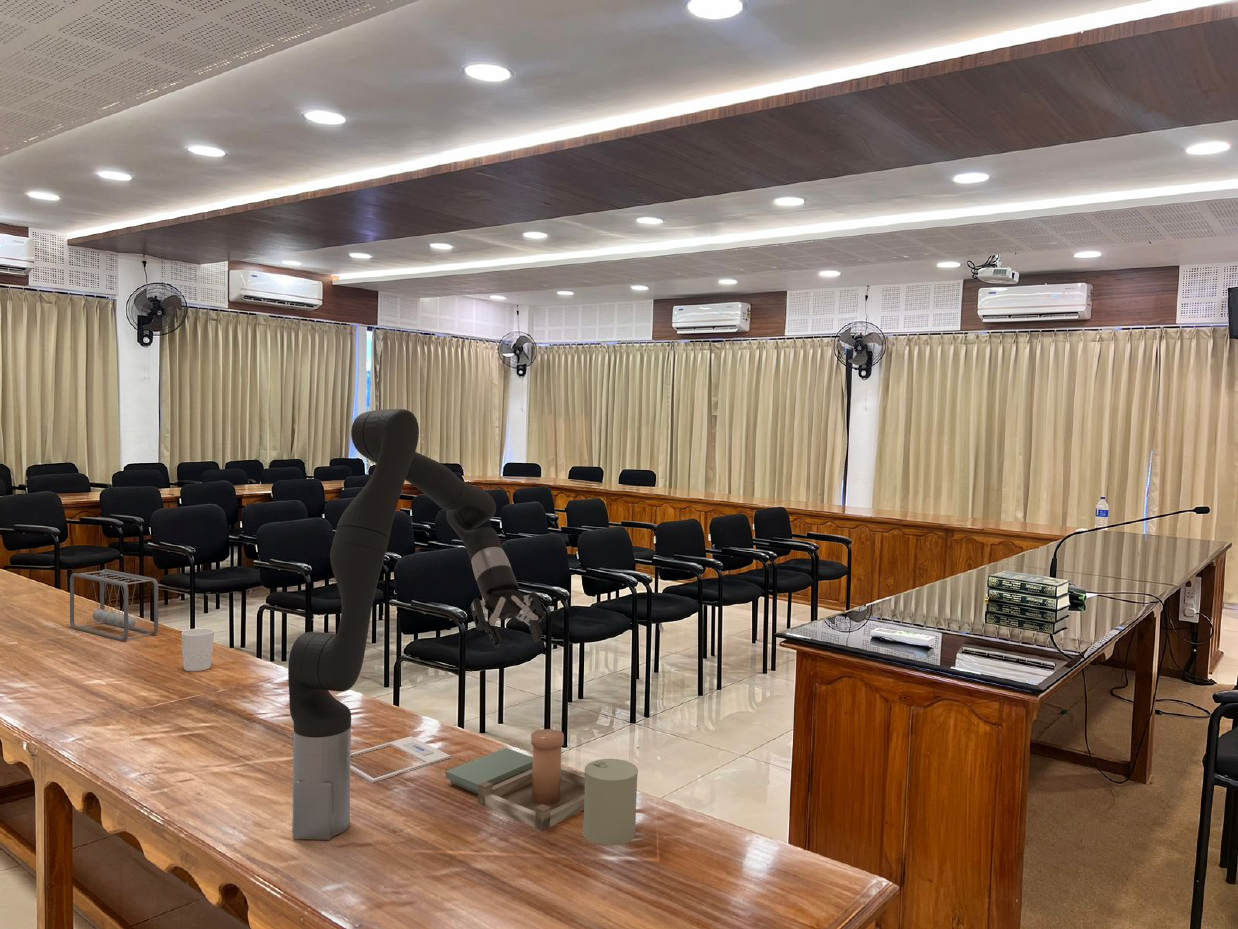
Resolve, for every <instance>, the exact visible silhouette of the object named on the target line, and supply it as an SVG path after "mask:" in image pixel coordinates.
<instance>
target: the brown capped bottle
mask: <svg viewBox="0 0 1238 929" xmlns="http://www.w3.org/2000/svg"><path fill="white" fill-rule="evenodd" d="M564 742H565V735H564V733H563V731H560V730H558V729H552V728H551V729H550V728H545V729H544V728H543V729H537V730H534V731H533V732H532V733H531V735H530V744H531V746H532V757H533V772H532V801H533V802H534V803H536V804H540V805H542V804H544V805H552V804H555V803H557V802H559V800H560V781H561V766H562V747H563V746H564V744H565V743H564Z"/></svg>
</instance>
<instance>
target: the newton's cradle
mask: <svg viewBox="0 0 1238 929" xmlns="http://www.w3.org/2000/svg"><path fill="white" fill-rule="evenodd" d="M96 573H100V574H99V576H98V575H96ZM92 574H93V575H92ZM106 575H109V576H113V577H112V578H109V577H108V576H106ZM116 577H120V579H119V578H118V579H115V578H116ZM75 578H80V579H84V580H89V581H92V586H93V591H94V595H95V601H96V606H97V609H96V610H95V611H93V613H92V619H93V620H94V621H96V622H94V623H88V624H81V625H76V623H75ZM123 579H127V580H126V581H123ZM130 580H133V582H130ZM137 580H138V581H137ZM94 581H95V582H98V583H99V604H98V600H97V595H96V594H97V593H96V590H95V584H94ZM146 582H147V583H148V582H152V583H153V630H148V629H145V628H140V627H136V626H135V625H136V623H137V621H136V618H135V617H134V616H132V615H131V613H132V610H130V613H129V587H128V585H133V584H134V585H136V584H139V583H146ZM108 584H109V585H111V589H110V593H109V587H108ZM115 586H118V592H117V593H116V587H115ZM133 587H134V589H133V591H135V590H136V586H133ZM106 588H107V593H108V597H109V598H108V599H109V601H108V603H109V604H107V610H106V606H105V589H106ZM113 588H114V594H115V598H116V603H115V609H114V611H113V608H112V602H111V597H112V592H113ZM120 588H121V592H122V598H123V606H122V608H123V609H122V610H121V612H120V607H119V603H118V598H119V592H120ZM132 593H133V594H132V597H134V595H135V592H132ZM131 599H132V600H131V603H133V602H134V598H131ZM99 607H100V608H99ZM109 607H110V610H111V611H110V610H109ZM132 607H133V604H131V605H130V609H132ZM116 609H118V613H117V612H116ZM69 622H70V623H69V624H70V627H71V628H72V629H74V630H77V631H81V632H83V633H84V632H85V633H88V634H92V635H97V636H100V637H104V638H106V639H111V640H116V641H119V642H126V641H127V640H131V639H135V638H139V637H145V636H149V635H151V636H155V635H156V634H158V632H159V583H158V580H157V579H156V578H153V577H148V576H145V575H144V576H143V575H139V574H133V573H127V572H123V571H117V570H114V569H113V570H112V569H108V568H104V569H102V570H98V571H96V570H95V571H89V572H80V573H77V572H74V573H72V574H70V577H69ZM98 624H99V625H100V624H105V625H110V626H114V627H118V628H122V629H123V637H121V636H118V635H114V634H110V633H106V632H102V631H99V630H95V629H91V628H87V626H94V625H98ZM129 630H130V631H134V632H138V633H142V634H140V635H135V636H134V635H133V636H130V637H129Z"/></svg>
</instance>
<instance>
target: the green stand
mask: <svg viewBox="0 0 1238 929" xmlns="http://www.w3.org/2000/svg"><path fill="white" fill-rule="evenodd" d="M531 769H533V756H531V755H527V754H524V753H521V752H518V751H516V750H513V749H511V748H508V747H505V748H501V749H499V750H497V751H494V752H491V753H488V754H487V755H484V756H481V757H479V758H476V759H473V760H471V761H469V762H466V763H464V764H461V765H459V766H455V767H453V768H450V769H448V770H446V771H445V779H449V780H450V783H451V784H453V785H455V786H458V787H460V788H462V789H464V790H465V789H466V790H467V791H470V792H472V793H475V794H477V795H478V784H480V783H482V782H485V781H487V782H489V783H492V786H494V785H496V784H498V783H501V782H503V781H505V780H508V779H510V778H512V777H514V776H517V775H519V774H521V773H524V772H526V771H528V770H531Z"/></svg>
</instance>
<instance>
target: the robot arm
mask: <svg viewBox="0 0 1238 929" xmlns="http://www.w3.org/2000/svg"><path fill="white" fill-rule="evenodd" d="M418 422H419V421H418V419H417V417H416V416H415V414H414V413H413V412H412V411H410V410H408V409H404V408H393V409H392V408H391V409H389V408H388V409H376V410H371V411H370V410H368V411H365V412H362V413H360V414H359V415H357V416H356V417H355V419H354V420H353V423H352V425H351V431H350V435H351V436H350V437H351V441H352V444H353V446H354V448H355V450H356V451H357V452H358V453H359V454H360V455H361V456H363V457H364V458H366V459H368V460H370V461H371V462H374V463H375V467H374V470H373V472H372V474H371V476H370V478H369V480H368V481H367V482H366V484H365V485H364V487H363V488H362V489H361V490H360V491H359V492H358V493H357V495H356V496H355V497H354V498H353V500H351V502H350V503H349V504H348V506H347V507H346V508H345V510H344V511H343V513H342V514H341V517H340V518H339V519H338V523H337V526H336V530H335V534H334V536H333V540H332V545H331V547H330V548H331V549H330V552H329V553H330V554H329V557H330V565H331V569H332V573H333V576H334V579H335V582H336V585H337V588H338V593H339V595H340V600H341V601H340V602H341V613H340V620H339V625H338V628H337V633H329V632H318V631H307V632H303V633H302V634H300V635H299V636H298V637H297V638H296V639H295V641H294V642H293V644H292V646H291V648H290V649H291V650H290V653H289V656H288V666H287V674H288V676H287V678H288V696H289V697H288V699H289V700H288V701H289V712H290V717H291V720H292V722H293V723H292V724H293V743H292V744H293V746H292V747H293V748H292V752H293V753H292V756H293V757H292V824H291V825H292V828H291V829H292V839H295V840H316V841H317V840H318V841H329V840H330V841H331V839H332V838H333V837H335V836H338V835H340V834H342V833H343V832H345V831H347V829H348V828H349V827H350V823H351V820H350V819H351V816H350V815H351V770H350V765H351V757H350V755H351V753H352V752H351V750H352V749H351V746H352V745H351V744H352V712H351V710H350V709H351V708H349V707H348V706H347V705H346V704H344V703H343V702H342V701H339V700H338V699H337V698H336V697H334V696H333V695H332V694H331V692H338V693H339V692H347V691H349V690H351V688H352V687H354V685H355V684H356V682H357V681H358V679H359V676H360V674H361V670H362V667H363V663H364V658H365V652H366V646H367V641H368V636H369V635H368V634H369V629H370V623H371V622H370V621H371V617H372V610H373V606H374V605H373V604H374V599H375V595H376V591H377V586H378V582H379V579H380V575H381V571H382V567H383V565H384V561H385V558H386V554H387V550H388V545H389V542H390V536H391V532H392V528H393V523H394V519H395V515H396V512H397V507H398V505H399V501H400V497H401V494H402V491H403V487H404V485H405V482H408V483H409V484H411V485H412V486H414V487H415V488H416V489H417V490H419V491H420V492H422V493H423V494H424V495H425V496H426V497H427V498H429V499H430V500H431V501H432V502H434V503H435V504H436V505H437V506H438V507H439V508H441V509H443V510H444V511H446V515H445V516H446V520H447V522H448V524H449V526H450V527H451V528H452V530H453V531H454V532H455V533H456V535H457V536H458V537H459V538H460V540H461V542H462V543H463V545H464V546H465V548H466V552H467V554H468V556H469V559H470V563H471V566H472V571H473V575H474V578H475V580H476V584H477V587H478V589H479V591H480V595H481V597H482V600H481V599H480V598H478V597H475V598H474V599H473V601H472V603H471V604H470V611H471V616H472V618H473V623H474V626H475V629H476V630H477V631H479V632H480V631H485V632H486V633H487V635H488V638H489V640H490V643H491V644H492V646H493V647H494V648H495V649H500V648H501V646H502V645H503V639H502V636H501V633H500V630H499V628H498V626H497V625H496V624H497V621H498V619H499V620H500V621H503V620H506V619H511V620H512V619H515V618H516V619H517V620H518V621H520V622H524V623H525V624H526V625H528V626H529V627H528V629H529V632H530V634H531V636H532V640H533V642H534V643H539V642H540V641H541V639H542V637H543V631H542V628H541V625H540V624H541V622H542V620H543V619H544V617H545V616H546V613H545V611H544V609H543V607H542V605H541V602H540V600H539V598H538V596H537V593H536V592H534V591H531V592H530V594H527V595H523V594H522V593H521V592H520V588H519V584H518V581H517V579H516V576H515V574H514V571H513V568H512V566H511V563H510V560H509V558H508V556H507V554H506V552H505V551H504V549H503V545H502V543H501V541H500V538H499V535H498V534H497V531H496V530H495V529H494V528H492V527H489V526H483V527H482V526H481V525H483V524H485V523H486V522H488V521H490V520H491V519H492V518H493V517H495V514H496V510H497V506H496V502H495V500H494V498H493V497H492V495H490V493H488V492H487V491H486V490H484V489H483V488H481V487H478V486H475V485H473V484H471V483H468V482H466V481H464V480H462V479H461V478H460V477H458V476H457V475H456V474H455V473H454V472H453V471H452V470H451V469H450V468H449V467H447V466H445V465H444V464H443V463H440V462H438V461H437V460H435V459H432V458H431V457H428V456H426V455H424V454H421V453H419V452H417V449H418V444H419V438H420V437H419V436H420V427H419V426H420V425H419V423H418ZM479 526H481V527H479ZM478 527H479V528H478ZM524 603H525V604H524ZM484 609H486V610H487V611H489V613H491V614H490V617H489V619H488V620H486V617H485V614H484V611H483V610H484ZM521 612H522V613H521ZM330 691H331V692H330Z"/></svg>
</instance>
